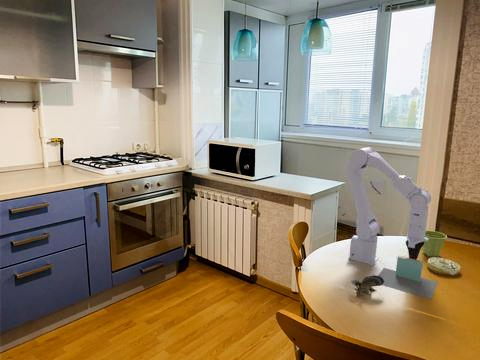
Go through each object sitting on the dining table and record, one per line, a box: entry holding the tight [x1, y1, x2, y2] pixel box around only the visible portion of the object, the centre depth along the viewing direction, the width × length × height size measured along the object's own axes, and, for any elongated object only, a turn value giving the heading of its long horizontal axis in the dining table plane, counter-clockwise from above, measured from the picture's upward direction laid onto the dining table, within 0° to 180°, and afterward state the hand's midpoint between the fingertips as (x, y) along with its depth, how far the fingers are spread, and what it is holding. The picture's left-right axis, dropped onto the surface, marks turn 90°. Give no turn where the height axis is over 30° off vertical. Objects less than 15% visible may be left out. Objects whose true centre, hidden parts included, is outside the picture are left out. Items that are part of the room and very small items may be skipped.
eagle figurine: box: [351, 274, 384, 298], centre depth 117 cm, size 8×7×9 cm
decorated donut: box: [426, 256, 461, 276], centre depth 134 cm, size 10×11×4 cm
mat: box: [377, 267, 439, 300], centre depth 124 cm, size 18×14×1 cm
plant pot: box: [422, 230, 448, 258], centre depth 148 cm, size 9×9×9 cm
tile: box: [395, 255, 424, 282], centre depth 126 cm, size 8×2×7 cm, turn 54°
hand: (412, 260), depth 131 cm, fingers closed
